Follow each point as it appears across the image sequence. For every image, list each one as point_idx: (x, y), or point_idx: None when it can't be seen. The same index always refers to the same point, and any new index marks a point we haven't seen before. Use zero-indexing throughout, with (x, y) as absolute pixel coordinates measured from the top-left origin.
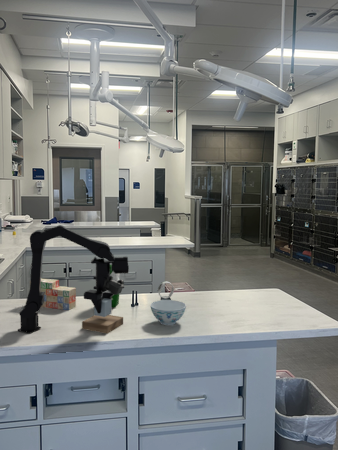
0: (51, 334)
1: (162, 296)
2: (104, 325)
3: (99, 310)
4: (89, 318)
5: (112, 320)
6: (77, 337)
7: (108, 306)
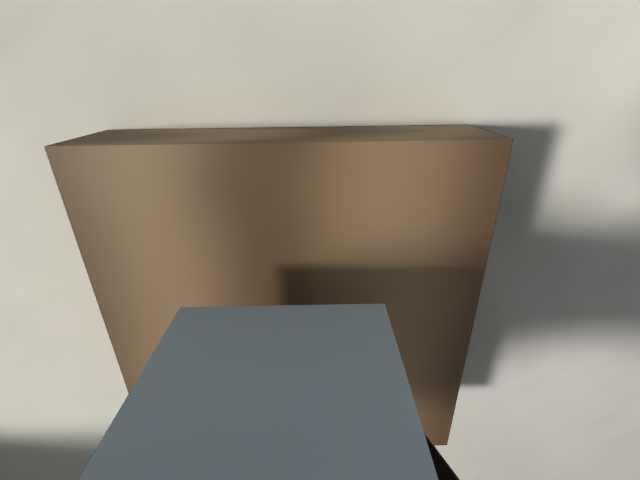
0: (587, 470)
1: None
2: (495, 195)
3: (437, 461)
4: None
5: (266, 209)
6: (624, 316)
7: (245, 445)
